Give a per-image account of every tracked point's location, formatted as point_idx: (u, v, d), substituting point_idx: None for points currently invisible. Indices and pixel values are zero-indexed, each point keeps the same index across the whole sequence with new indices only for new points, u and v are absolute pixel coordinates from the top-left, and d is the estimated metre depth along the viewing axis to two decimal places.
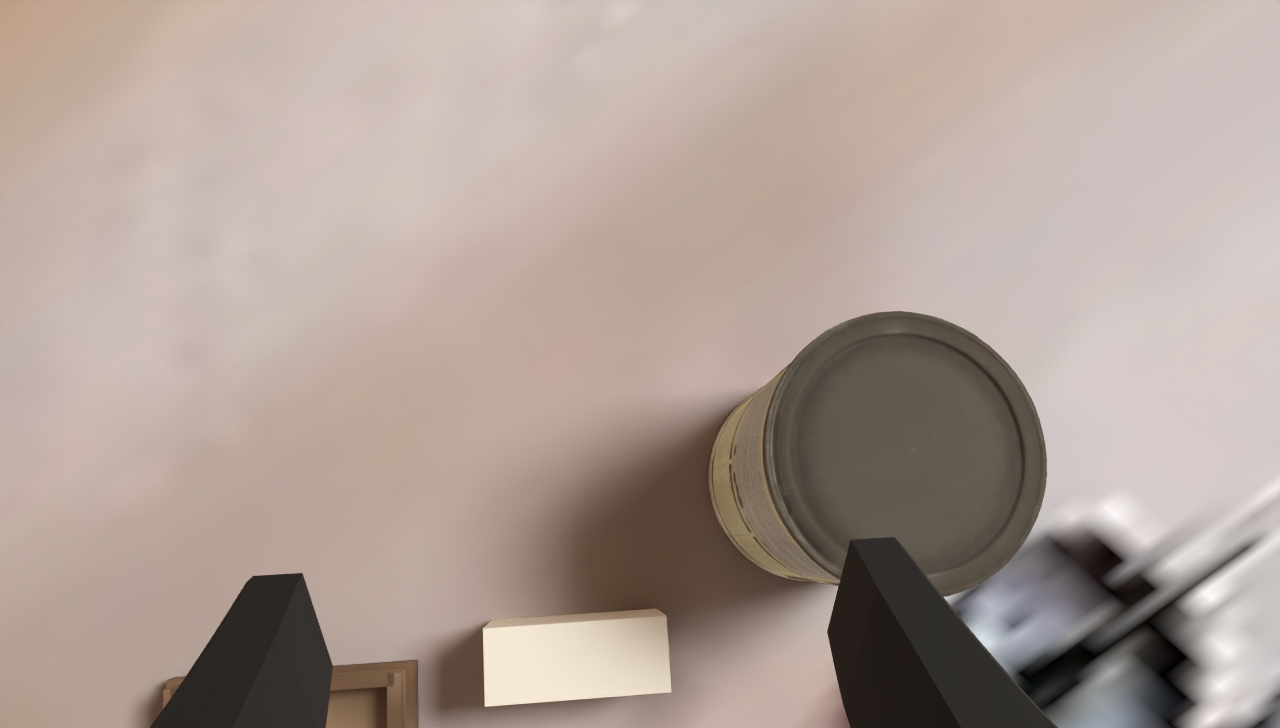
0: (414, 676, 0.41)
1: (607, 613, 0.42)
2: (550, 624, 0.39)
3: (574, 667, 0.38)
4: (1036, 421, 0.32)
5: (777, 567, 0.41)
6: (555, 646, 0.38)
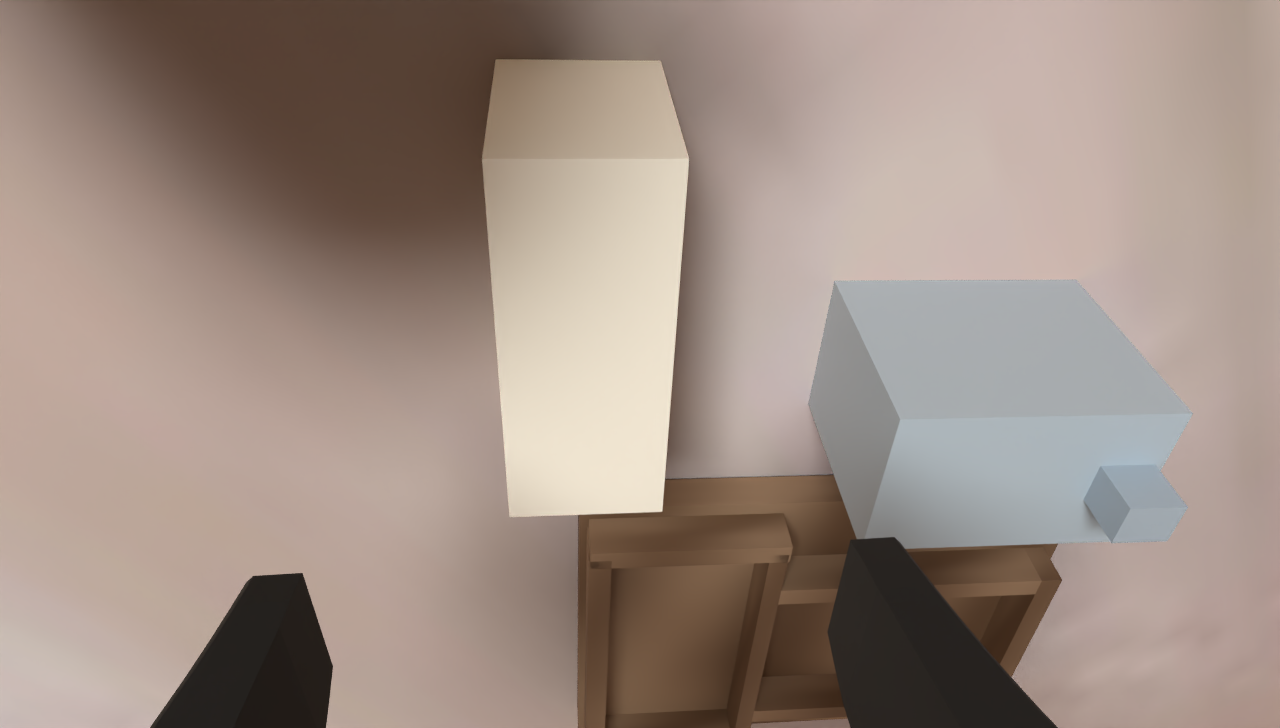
0: None
1: None
2: None
3: (601, 368, 0.16)
4: None
5: None
6: (550, 403, 0.17)
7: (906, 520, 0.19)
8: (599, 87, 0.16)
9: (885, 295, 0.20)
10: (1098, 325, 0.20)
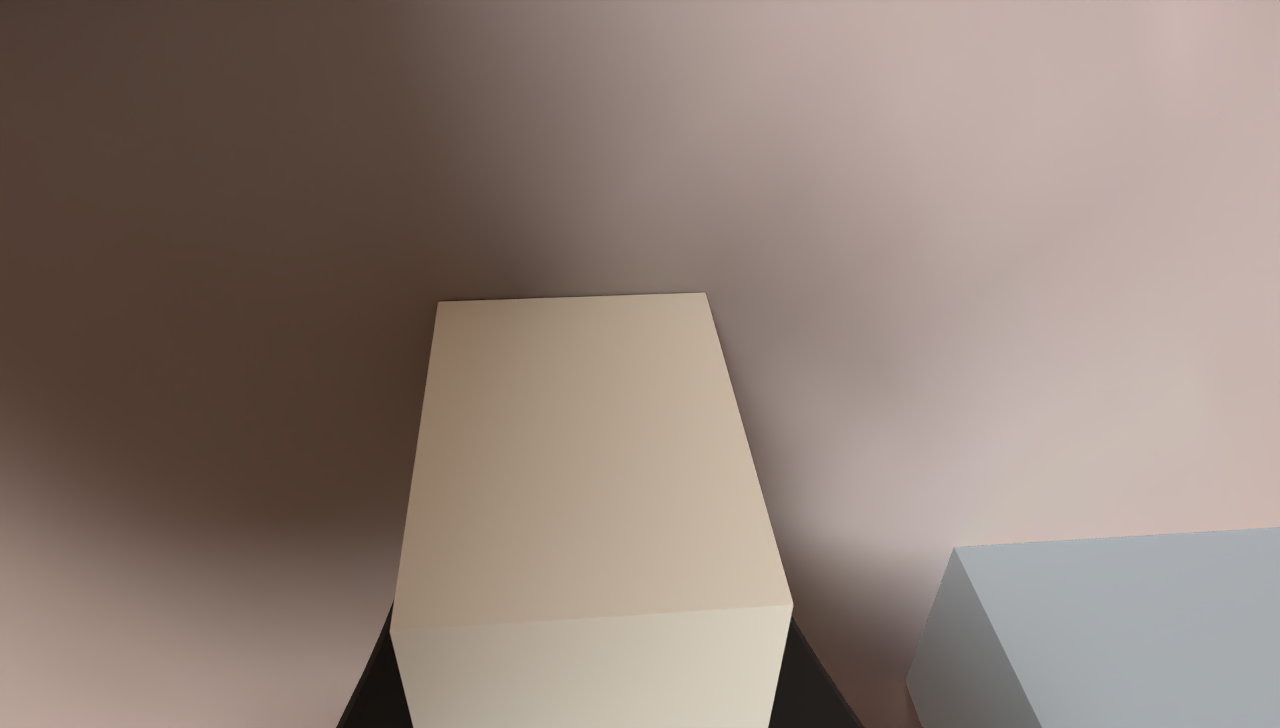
0: None
1: None
2: None
3: None
4: None
5: None
6: None
7: None
8: (610, 378, 0.09)
9: (1033, 574, 0.14)
10: None
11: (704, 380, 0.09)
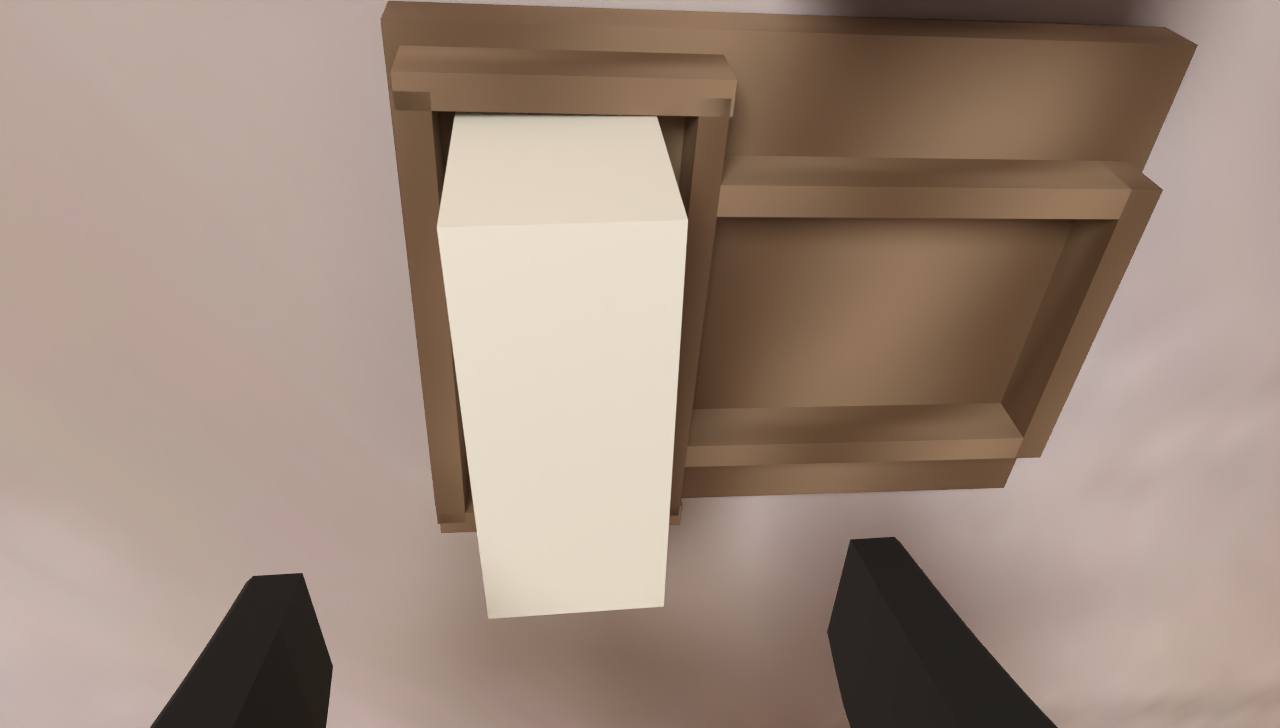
0: (422, 19, 0.14)
1: None
2: None
3: (589, 457, 0.14)
4: None
5: None
6: (531, 497, 0.14)
7: None
8: (579, 128, 0.14)
9: None
10: None
11: (643, 129, 0.14)
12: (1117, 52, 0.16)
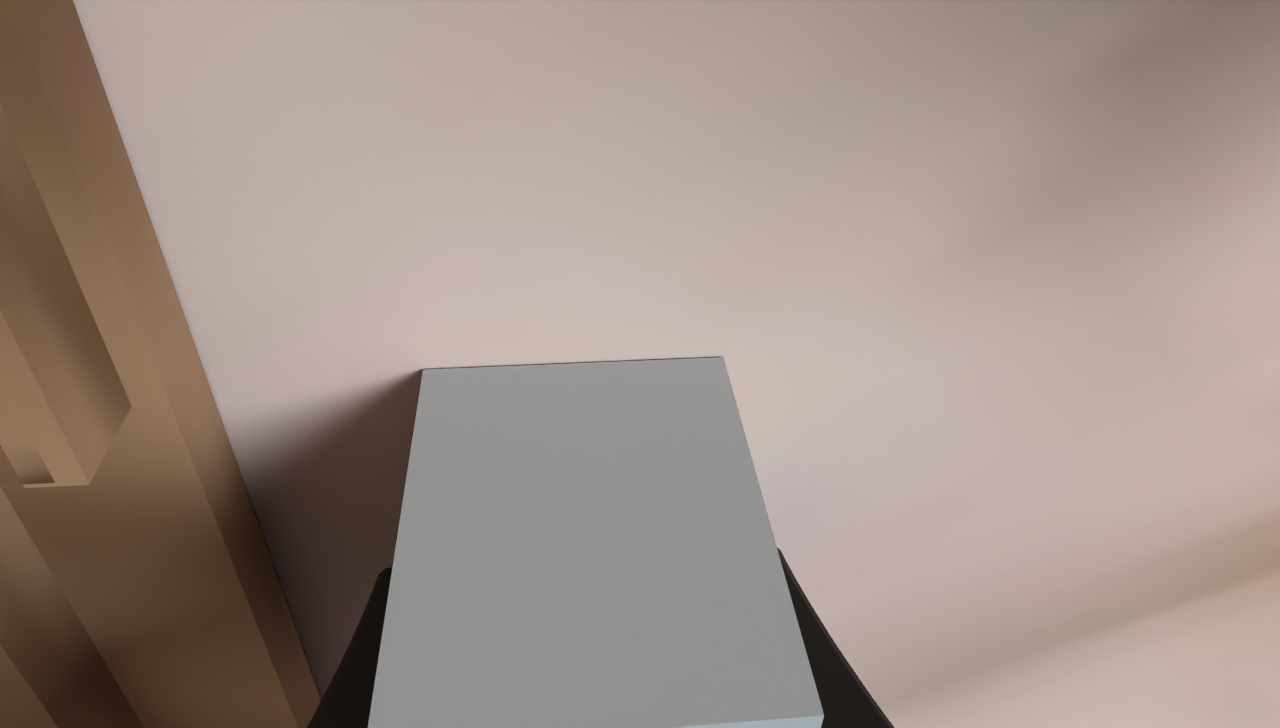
0: None
1: None
2: None
3: None
4: None
5: None
6: None
7: None
8: None
9: None
10: None
11: None
12: None
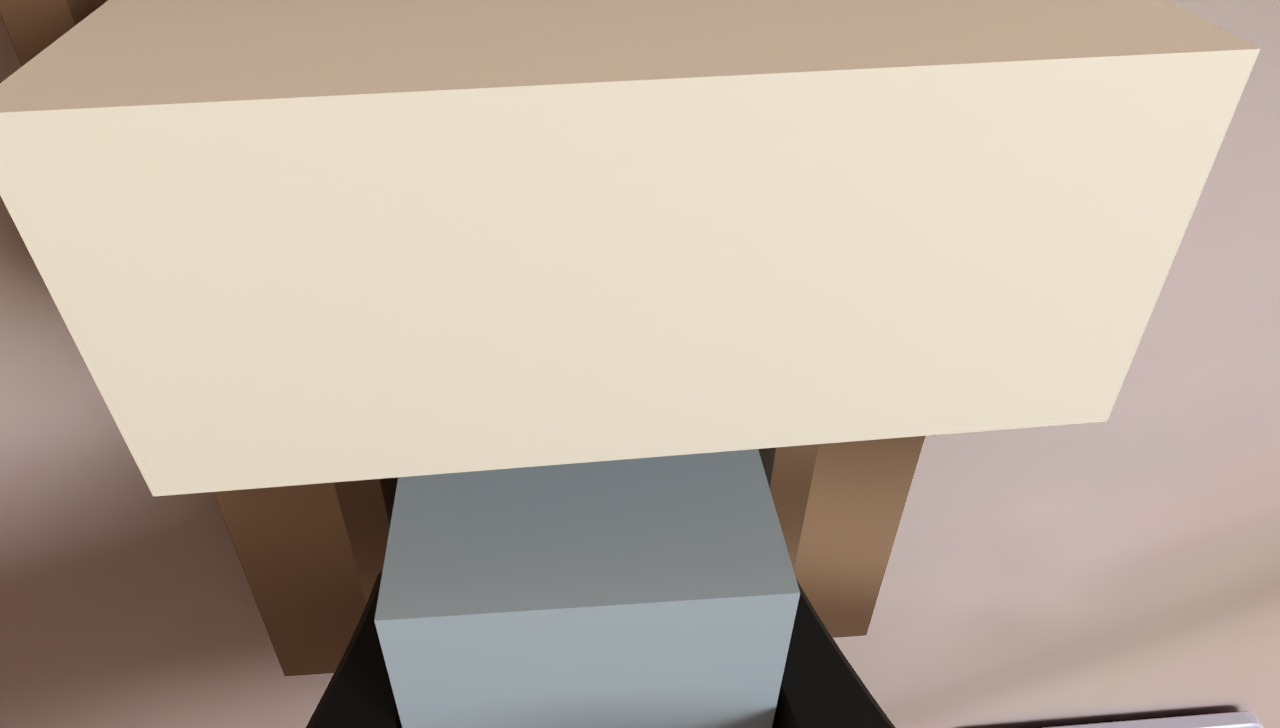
0: None
1: None
2: (463, 87, 0.05)
3: (629, 328, 0.07)
4: None
5: None
6: (505, 223, 0.06)
7: (488, 667, 0.08)
8: None
9: None
10: None
11: None
12: (871, 588, 0.16)
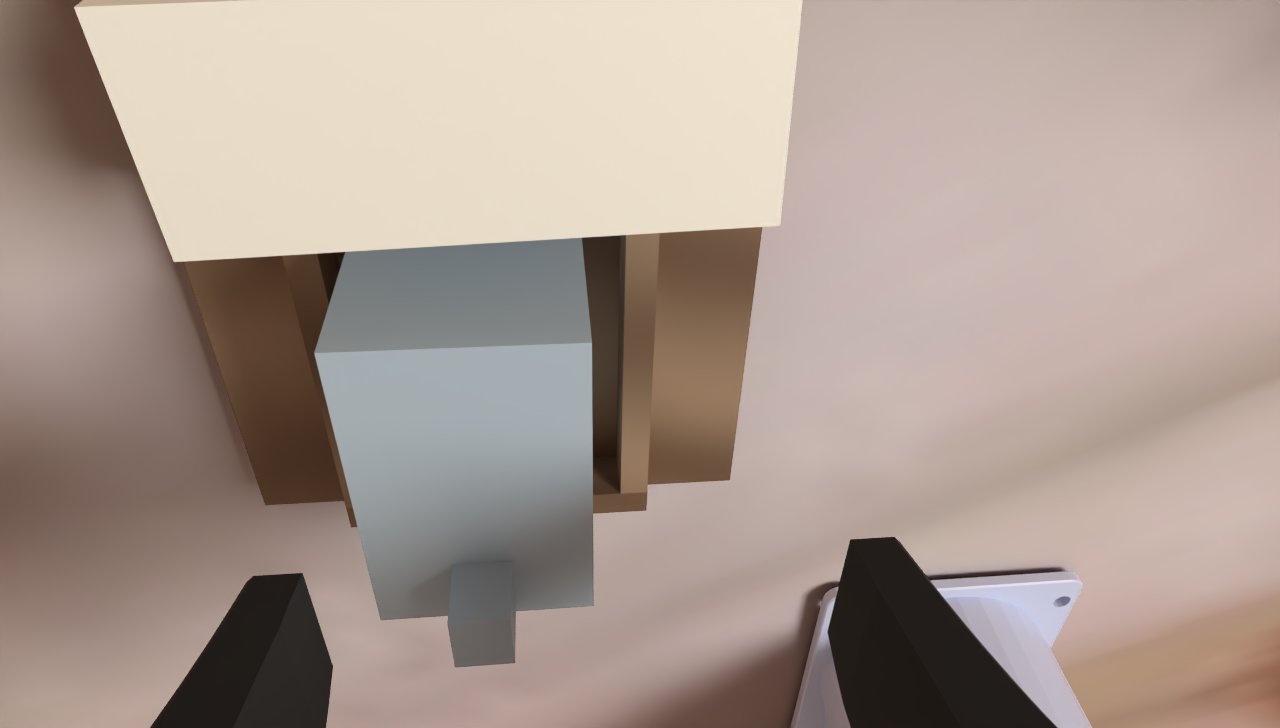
0: None
1: None
2: None
3: (462, 150, 0.11)
4: None
5: None
6: (380, 78, 0.10)
7: (391, 395, 0.13)
8: None
9: None
10: None
11: None
12: (728, 436, 0.21)
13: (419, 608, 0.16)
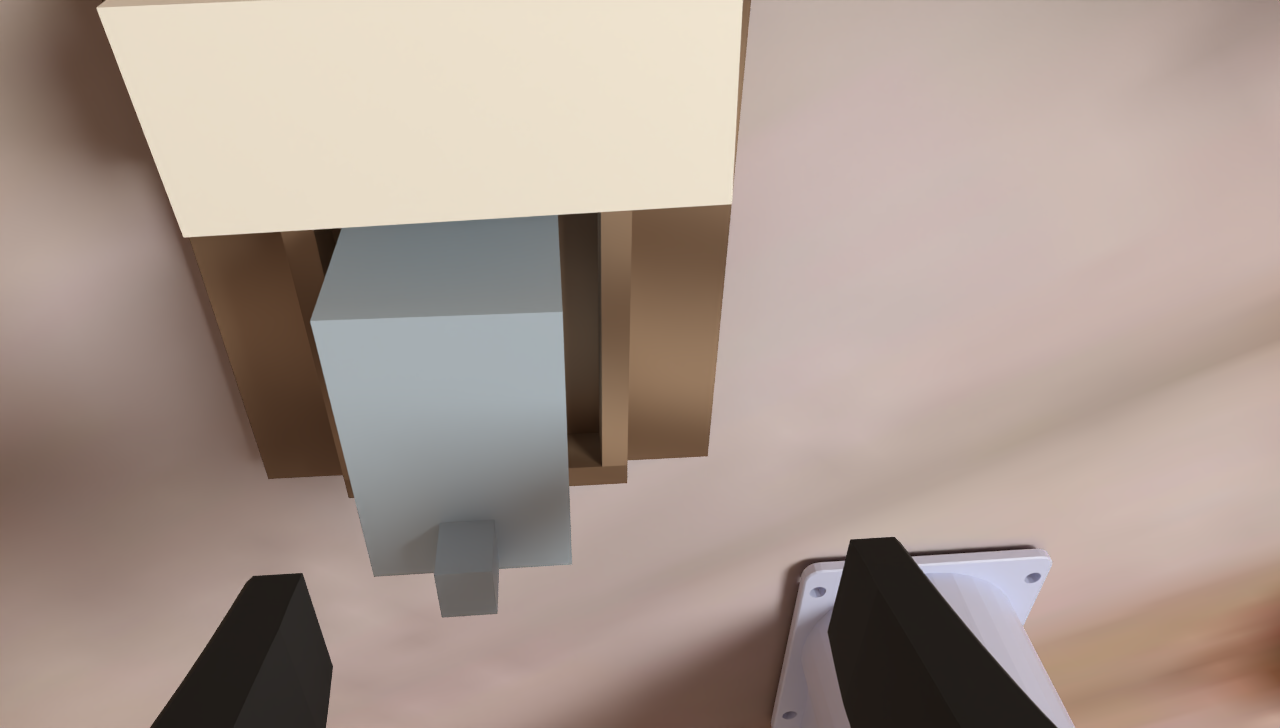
0: None
1: None
2: None
3: (441, 135, 0.12)
4: None
5: None
6: (367, 71, 0.12)
7: (380, 361, 0.14)
8: None
9: None
10: None
11: None
12: (705, 413, 0.22)
13: (409, 565, 0.17)
